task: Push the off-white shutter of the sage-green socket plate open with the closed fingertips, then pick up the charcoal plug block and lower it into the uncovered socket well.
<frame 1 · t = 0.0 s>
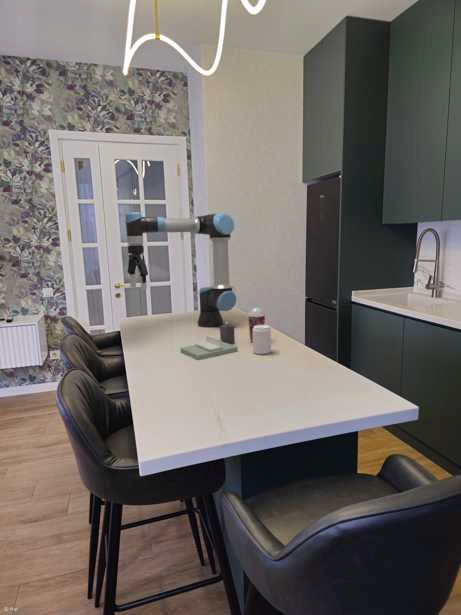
hand: (138, 288, 199), 28 cm above the countertop, fingers open, 13 cm apart
socket plate: (209, 351, 185), on the countertop
smoothie: (257, 342, 199), on the countertop
shutter: (208, 342, 184), point 4 cm above the countertop, slide at 0.0 cm
plug: (227, 343, 198), on the countertop
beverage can: (261, 352, 181), on the countertop
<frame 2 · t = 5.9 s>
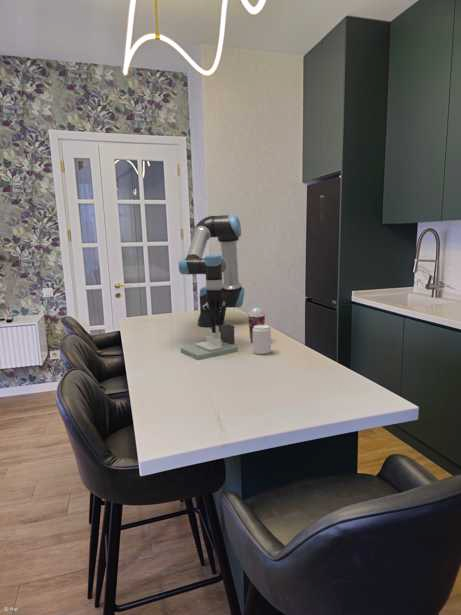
hand: (216, 339, 186), 5 cm above the countertop, fingers closed
shutter: (208, 342, 184), point 4 cm above the countertop, slide at 0.0 cm, touching gripper
everything else where it was.
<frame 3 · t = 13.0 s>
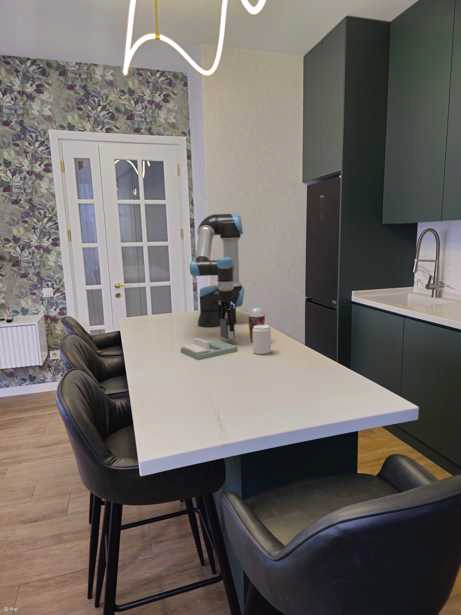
hand: (227, 336, 198), 4 cm above the countertop, fingers closed on plug, 5 cm apart
shutter: (196, 345, 180), point 4 cm above the countertop, slide at 6.7 cm
plug: (227, 337, 198), point 3 cm above the countertop, touching gripper
everything else where it was.
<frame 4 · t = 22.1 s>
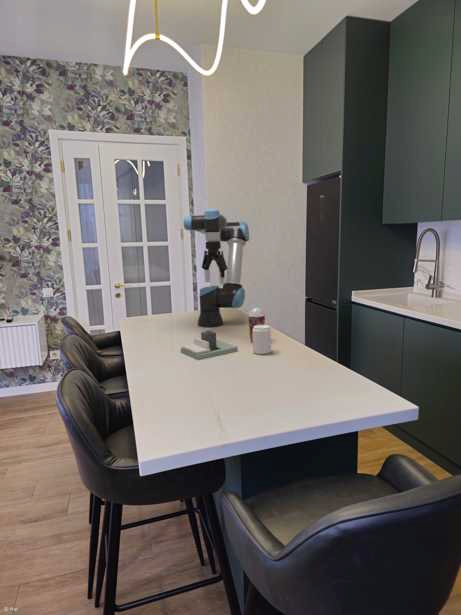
hand: (214, 283, 204), 29 cm above the countertop, fingers open, 13 cm apart
plug: (209, 351, 185), resting in socket plate
everything else where it was.
at the end: plug inside the target area on the socket plate (0.1 cm from its centre), point 0.0 cm above the socket plate's base; plug tilted 0°; shutter slide at 6.7 cm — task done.
